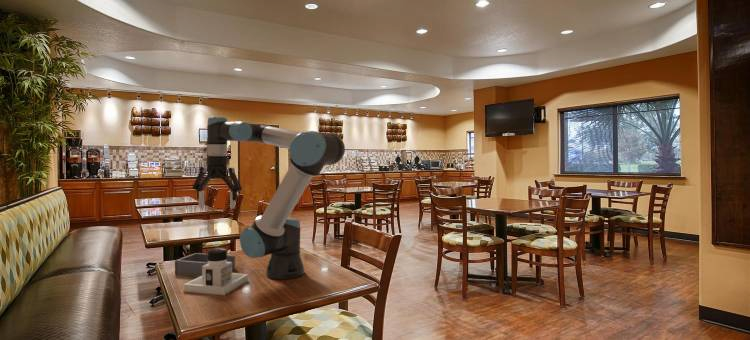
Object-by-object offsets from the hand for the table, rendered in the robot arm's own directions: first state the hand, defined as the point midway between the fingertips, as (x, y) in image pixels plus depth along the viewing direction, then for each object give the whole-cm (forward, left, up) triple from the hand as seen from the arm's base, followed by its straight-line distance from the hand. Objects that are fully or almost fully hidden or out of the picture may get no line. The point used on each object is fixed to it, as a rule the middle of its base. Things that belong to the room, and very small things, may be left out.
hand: (217, 207), depth 161 cm
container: (-9, +14, -27) cm, 31 cm away
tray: (-9, +14, -27) cm, 32 cm away
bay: (+6, -1, -27) cm, 28 cm away
